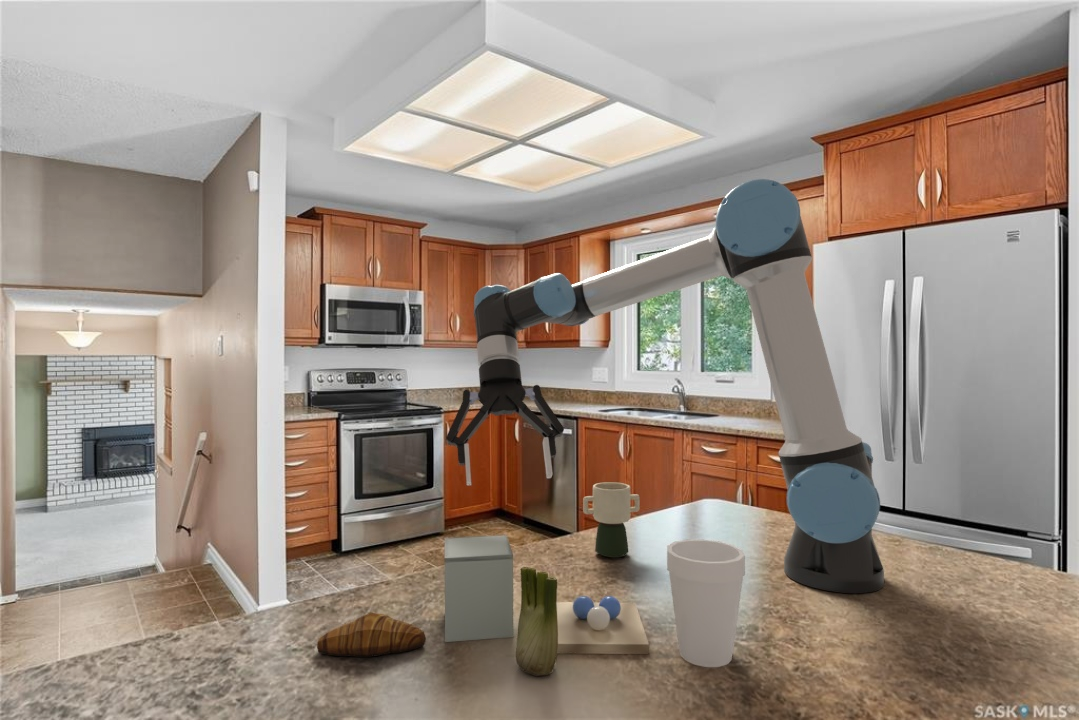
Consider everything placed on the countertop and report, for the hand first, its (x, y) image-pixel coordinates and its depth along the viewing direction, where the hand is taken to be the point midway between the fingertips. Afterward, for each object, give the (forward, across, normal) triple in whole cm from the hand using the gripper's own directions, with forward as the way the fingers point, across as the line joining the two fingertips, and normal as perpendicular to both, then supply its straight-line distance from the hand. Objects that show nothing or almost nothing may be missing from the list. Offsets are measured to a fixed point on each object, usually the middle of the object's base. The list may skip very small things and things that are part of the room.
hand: (509, 480), depth 102 cm
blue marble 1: (+23, -8, +11) cm, 26 cm away
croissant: (+24, +20, +14) cm, 34 cm away
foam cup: (+29, -21, +19) cm, 40 cm away
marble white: (+24, -9, +14) cm, 30 cm away
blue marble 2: (+23, -11, +11) cm, 28 cm away
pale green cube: (+22, +7, +8) cm, 24 cm away
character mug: (+12, -19, -16) cm, 28 cm away
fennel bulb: (+28, 0, +20) cm, 35 cm away
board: (+24, -7, +11) cm, 28 cm away
